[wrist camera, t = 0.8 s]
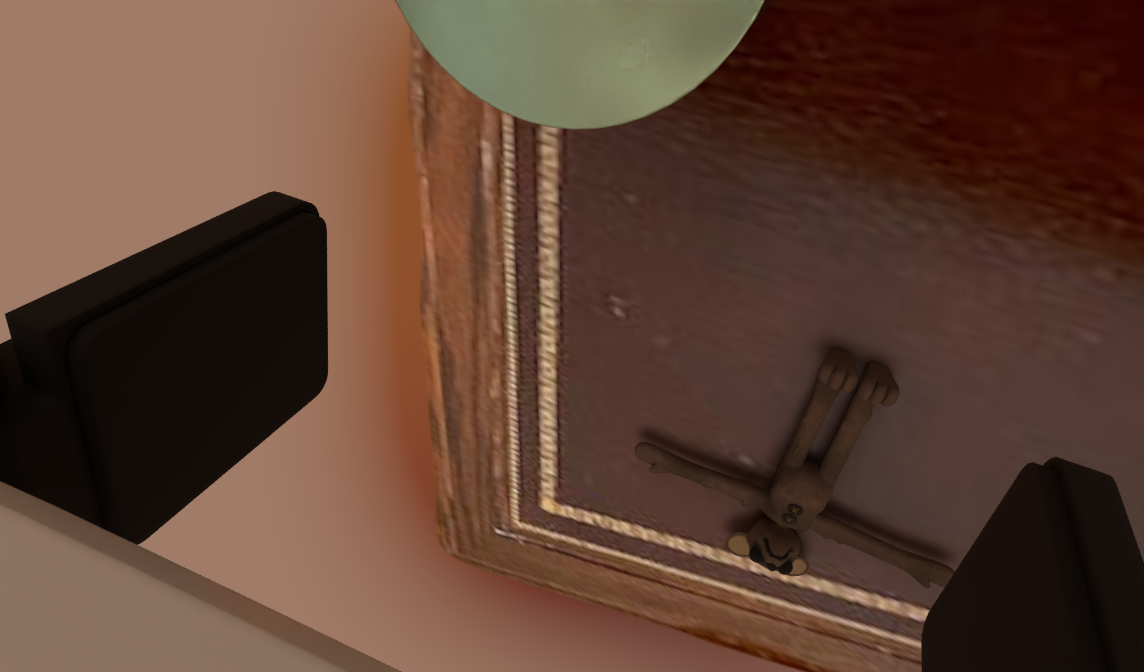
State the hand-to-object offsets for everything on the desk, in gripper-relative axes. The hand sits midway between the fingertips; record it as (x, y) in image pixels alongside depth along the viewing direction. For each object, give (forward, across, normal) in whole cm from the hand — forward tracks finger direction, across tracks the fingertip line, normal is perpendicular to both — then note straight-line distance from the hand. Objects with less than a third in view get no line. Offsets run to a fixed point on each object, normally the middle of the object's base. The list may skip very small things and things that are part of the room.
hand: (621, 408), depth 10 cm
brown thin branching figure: (+28, -6, +20) cm, 35 cm away
